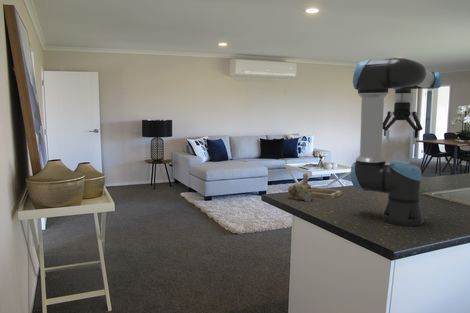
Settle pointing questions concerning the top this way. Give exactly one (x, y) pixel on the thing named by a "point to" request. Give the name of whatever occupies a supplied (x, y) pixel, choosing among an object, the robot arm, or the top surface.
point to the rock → (300, 192)
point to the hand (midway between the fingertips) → (400, 143)
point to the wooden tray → (322, 190)
